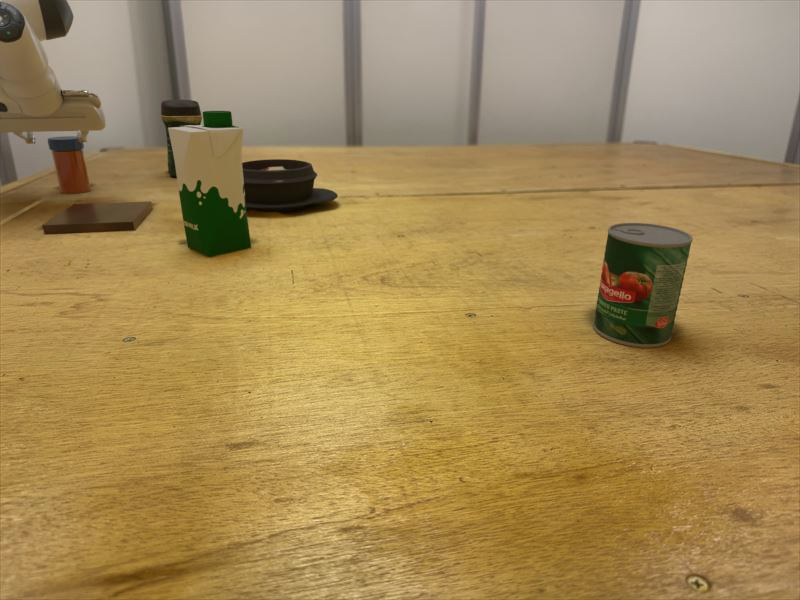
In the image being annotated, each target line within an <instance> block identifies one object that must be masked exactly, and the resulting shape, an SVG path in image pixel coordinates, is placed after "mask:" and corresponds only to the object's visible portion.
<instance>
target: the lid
mask: <svg viewBox="0 0 800 600" xmlns="http://www.w3.org/2000/svg"><path fill="white" fill-rule="evenodd" d="M47 145H48V149H49V150H50V151H52V150H53V151H70V150H79V149H83V150H84V148H85V145H84V142H79V140H78V139H77V135H76V136H75V135H73V136H71V135H68V136H67V135H66V136H53V137H52V136H51V137H48V138H47Z"/></svg>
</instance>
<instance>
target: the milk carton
mask: <svg viewBox="0 0 800 600" xmlns="http://www.w3.org/2000/svg"><path fill="white" fill-rule="evenodd" d="M202 120H203V121H202V122H203V124H201V125H186V126H184V127H172V128H168V131H169V136H170V140H171V145H172V150H173V155H174V161H175V168H176V175H177V177H176V180H177V181H176V182H177V187H178V195H179V201H180V209H181V214H182V223H183V228H184V234H185V238H186V239H185V241H186V246H187V248H189V249H191V250H193V251H195V252H197V253H199V254H201V255H203V256H205V257H207V258H212V257H215V256H221V255H226V254H231V253H235V252H239V251H245V250H249V249H251V248H252V244H251V243H252V242H251V236H250V228H249V220H248V219H249V218H248V209H247V208H246V199H245V189H244V179H243V168H242V163H243V158H242V154H243V152H242V151H243V138H244V129H243V127H239V126H235V125H233V116H232V111H230V110H206V111H202Z"/></svg>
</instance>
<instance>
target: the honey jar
mask: <svg viewBox="0 0 800 600" xmlns="http://www.w3.org/2000/svg"><path fill="white" fill-rule="evenodd" d="M51 155H52V160H53V165H54V168H55V172H56V177H57V181H58V182H57V183H58V187H59V190H60V191H59V192H60V193H61V194H67V195H69V194H70V195H71V194H72V195H73V194H82V193H83V194H84V193H88V192H91V191H92V187H91V182H90V177H89V171H88V166H87V162H86V157H85V153H84V148H83V149H79V150H70V151H53V150H51Z"/></svg>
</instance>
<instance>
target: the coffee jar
mask: <svg viewBox="0 0 800 600" xmlns="http://www.w3.org/2000/svg"><path fill="white" fill-rule="evenodd" d="M160 118H161V121H162V123H163V125H164V127H165V133H166V146H167V147H166V149H167V168H168V174H169V175H170V176H171V177H176V178H177V175H176V168H175V161H174V155H173V150H172V145H171V140H170V136H169V131H168V128H172V127H184V126H186V125H202V122H203V121H202V120H203V114H202V111H201V107H200V104H199V102H198V101H196V100H192V99H166V100H162V101H161V103H160Z"/></svg>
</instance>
